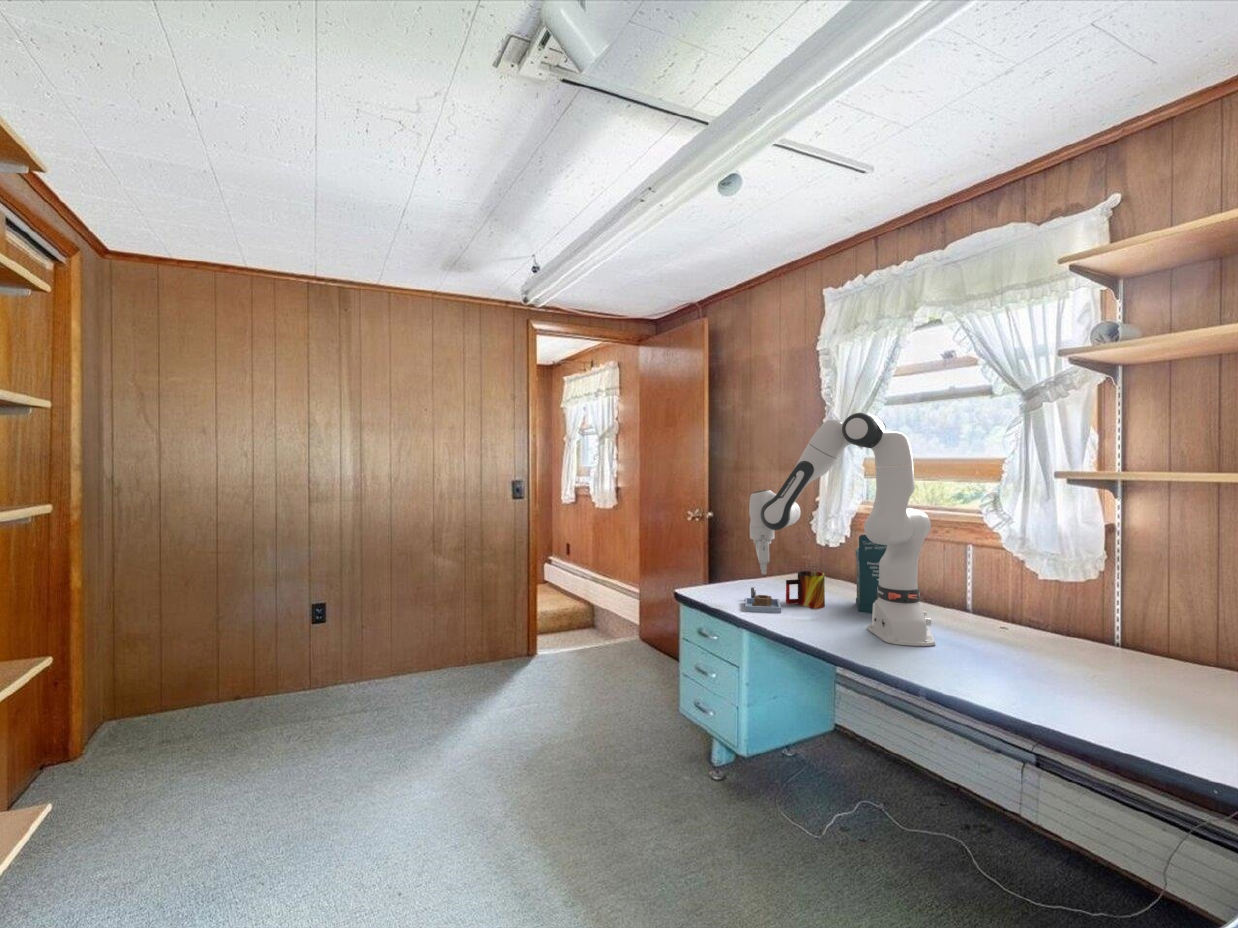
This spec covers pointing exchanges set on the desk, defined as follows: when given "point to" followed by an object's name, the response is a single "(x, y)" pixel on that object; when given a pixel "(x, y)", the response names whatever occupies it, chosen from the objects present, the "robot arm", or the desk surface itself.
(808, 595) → the mug
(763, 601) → the ring
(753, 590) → the grey peg stand
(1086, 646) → the desk surface
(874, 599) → the donation box
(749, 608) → the tray
